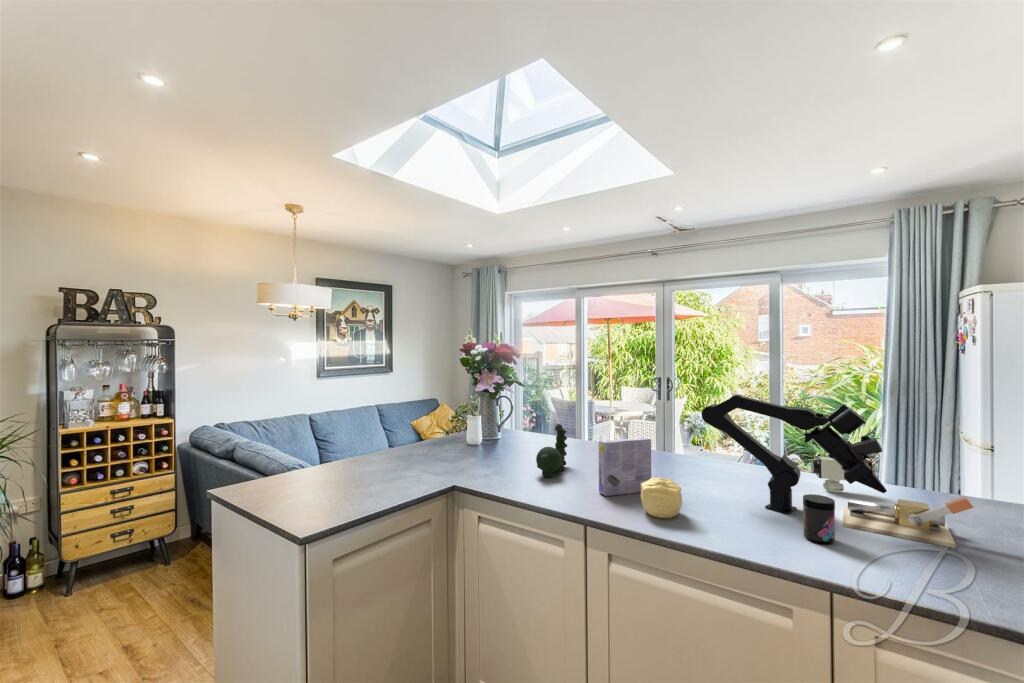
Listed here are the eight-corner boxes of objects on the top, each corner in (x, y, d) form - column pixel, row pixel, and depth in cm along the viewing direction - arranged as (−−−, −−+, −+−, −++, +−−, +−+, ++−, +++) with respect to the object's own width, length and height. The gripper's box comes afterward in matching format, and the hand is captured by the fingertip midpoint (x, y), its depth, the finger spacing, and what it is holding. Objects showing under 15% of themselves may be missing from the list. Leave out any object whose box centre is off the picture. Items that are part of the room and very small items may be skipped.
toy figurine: (550, 468, 188) (529, 479, 165) (551, 421, 190) (530, 427, 167) (572, 470, 185) (554, 482, 162) (573, 423, 186) (555, 428, 163)
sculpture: (639, 519, 129) (639, 481, 129) (642, 505, 141) (642, 470, 141) (682, 524, 125) (682, 485, 125) (682, 509, 137) (681, 473, 137)
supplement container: (813, 545, 112) (812, 503, 112) (797, 534, 119) (797, 494, 119) (841, 546, 111) (841, 503, 111) (824, 534, 118) (824, 494, 118)
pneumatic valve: (857, 496, 146) (856, 458, 146) (814, 491, 151) (813, 455, 151) (851, 490, 151) (851, 454, 151) (810, 486, 156) (810, 451, 156)
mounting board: (842, 526, 123) (842, 522, 123) (844, 509, 135) (844, 506, 135) (955, 548, 110) (955, 543, 110) (946, 527, 122) (946, 523, 122)
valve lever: (905, 517, 118) (965, 497, 111) (904, 515, 120) (964, 495, 113) (913, 528, 117) (974, 508, 110) (912, 525, 119) (973, 506, 112)
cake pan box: (646, 486, 158) (645, 435, 158) (655, 490, 154) (654, 438, 154) (597, 492, 152) (596, 440, 152) (605, 497, 148) (604, 443, 148)
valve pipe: (847, 516, 128) (847, 496, 128) (848, 510, 132) (848, 491, 132) (945, 533, 115) (945, 511, 115) (942, 527, 119) (942, 505, 119)
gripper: (859, 432, 117) (917, 483, 111) (859, 422, 132) (910, 466, 125) (822, 458, 122) (875, 508, 115) (827, 445, 137) (874, 489, 130)
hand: (885, 491), depth 121 cm, fingers closed
